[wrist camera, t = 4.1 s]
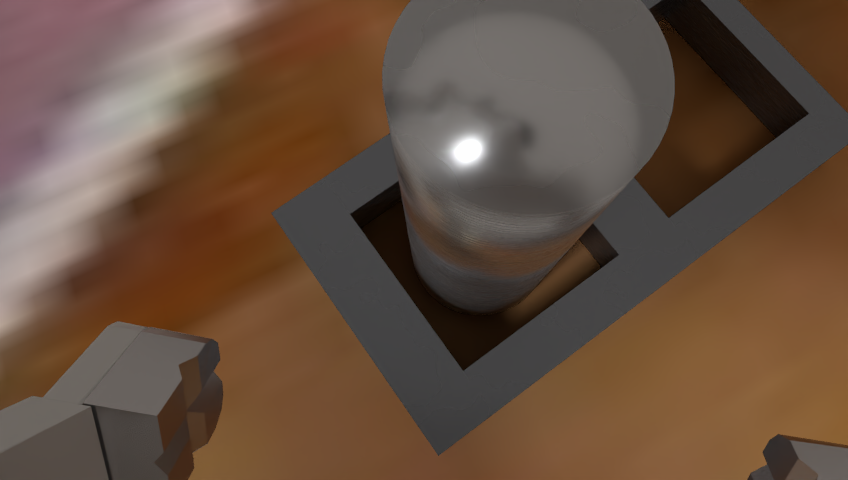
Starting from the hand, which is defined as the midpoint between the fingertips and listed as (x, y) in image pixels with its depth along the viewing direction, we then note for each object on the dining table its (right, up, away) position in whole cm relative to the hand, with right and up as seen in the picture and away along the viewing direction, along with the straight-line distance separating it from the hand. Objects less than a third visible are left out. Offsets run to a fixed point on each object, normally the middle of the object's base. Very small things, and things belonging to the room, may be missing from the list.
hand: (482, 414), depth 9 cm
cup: (+1, +2, +12) cm, 12 cm away
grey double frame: (+4, +4, +13) cm, 14 cm away
